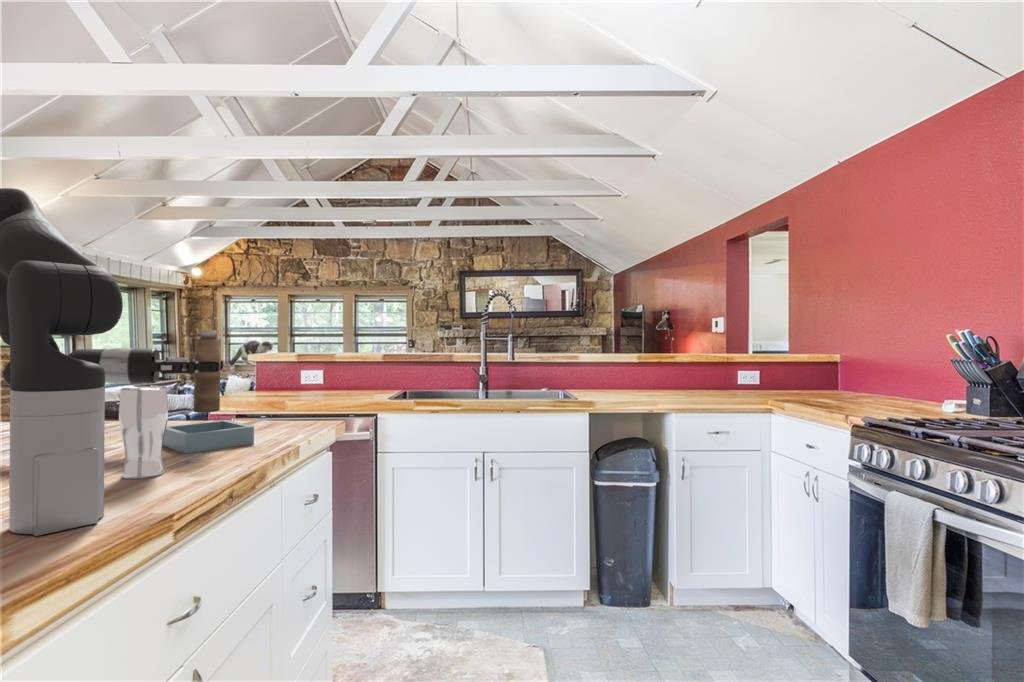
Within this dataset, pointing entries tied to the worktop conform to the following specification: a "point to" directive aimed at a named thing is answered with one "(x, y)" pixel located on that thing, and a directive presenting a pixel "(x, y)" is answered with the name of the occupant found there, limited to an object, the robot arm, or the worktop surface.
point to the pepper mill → (207, 373)
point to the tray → (207, 436)
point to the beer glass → (143, 430)
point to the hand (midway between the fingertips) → (220, 365)
